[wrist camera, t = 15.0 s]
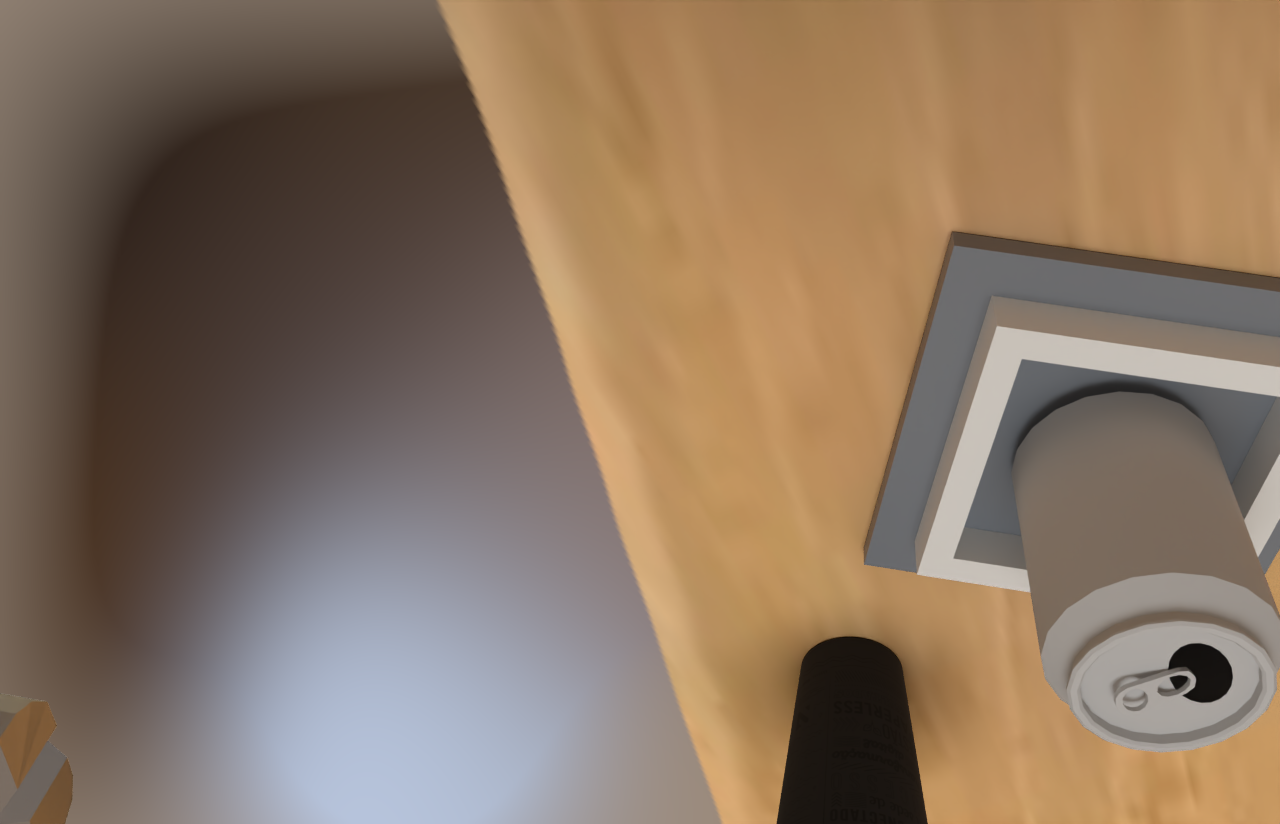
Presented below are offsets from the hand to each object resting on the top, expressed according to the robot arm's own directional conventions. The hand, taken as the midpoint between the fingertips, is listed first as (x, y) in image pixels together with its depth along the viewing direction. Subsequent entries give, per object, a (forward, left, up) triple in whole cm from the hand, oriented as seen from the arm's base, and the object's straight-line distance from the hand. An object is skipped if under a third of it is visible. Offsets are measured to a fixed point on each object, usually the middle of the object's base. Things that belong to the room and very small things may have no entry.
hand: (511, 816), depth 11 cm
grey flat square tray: (+20, +17, -34) cm, 43 cm away
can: (+20, +17, -33) cm, 42 cm away
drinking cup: (+36, +10, -34) cm, 51 cm away
